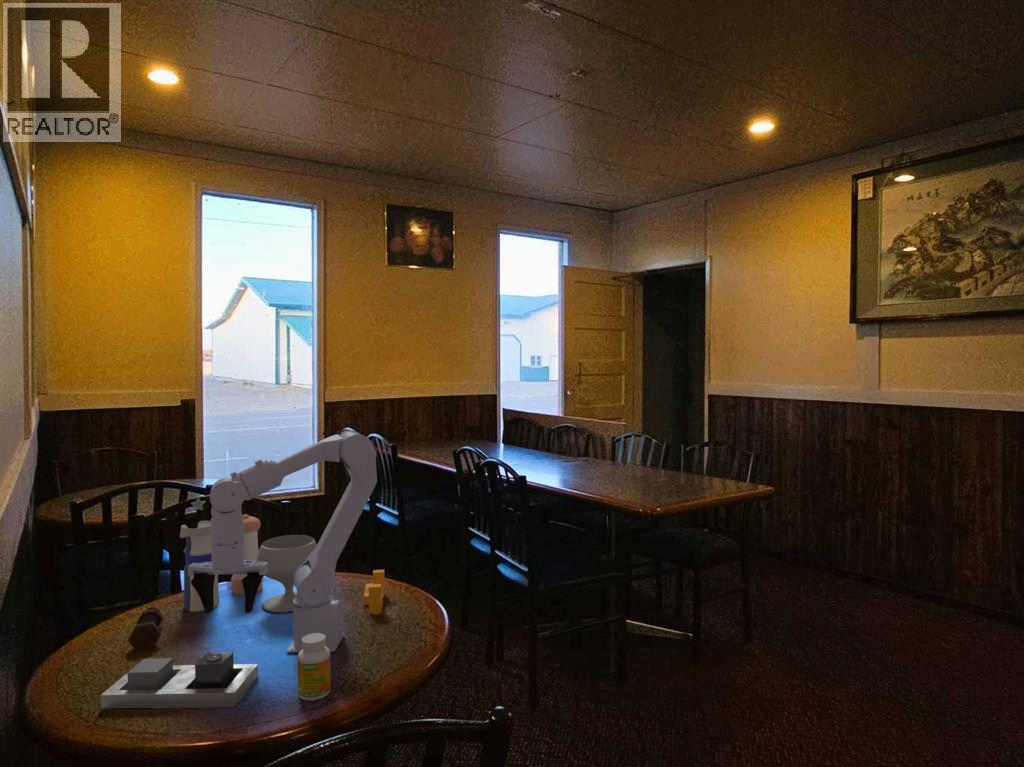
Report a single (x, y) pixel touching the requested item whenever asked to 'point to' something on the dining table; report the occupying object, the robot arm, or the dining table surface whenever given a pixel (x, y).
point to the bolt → (146, 630)
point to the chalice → (284, 566)
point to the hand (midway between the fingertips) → (229, 611)
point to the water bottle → (197, 559)
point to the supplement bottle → (314, 668)
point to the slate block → (150, 674)
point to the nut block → (214, 670)
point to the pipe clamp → (375, 592)
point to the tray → (181, 691)
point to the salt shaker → (247, 551)
